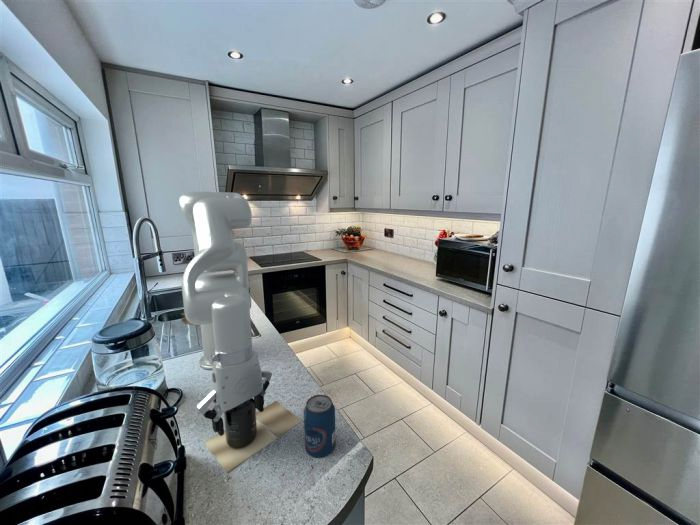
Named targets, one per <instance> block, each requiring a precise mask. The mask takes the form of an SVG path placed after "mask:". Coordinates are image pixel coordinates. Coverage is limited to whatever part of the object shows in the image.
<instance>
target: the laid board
mask: <svg viewBox="0 0 700 525" xmlns="http://www.w3.org/2000/svg"><path fill="white" fill-rule="evenodd" d="M256 419H257V420H258V421H259V422H260V423H261V424H262V425H263V426H265V427H266V428H267V429H268V430H269V431H270V432H271V433H272V434H274V435H275V436H276V437H277V438H280V437H282V436H283V435H284V434H286V433H288V432H289V431H290V430H291V429H293V428H294V427H296V426H297V425H299V424H300V423H301V422H303V420H302V419H301V418H299V417H298V416H296V415H295V414H294V413H293V412H291V411H290V410H288V409H287V408H286V407H285V406H284V405H282V404H281V403H280V402H279V401H278V400H275V401H273V402H271V403H270V404H268V405H267V406H264V411H263V412H260V411H259V410H257V411H256Z"/></svg>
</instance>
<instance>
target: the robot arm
mask: <svg viewBox="0 0 700 525" xmlns="http://www.w3.org/2000/svg"><path fill="white" fill-rule="evenodd" d="M178 200H179V201H178V202H179V203H178V204H179V208H180V210H181V213H182V214H183V217H184V219H185V220H186V222H187V224H188V225H189V227H190V230H191V234H192V241H193V242H192V243H193V251H194V256H193V258H192V259H191V260H190V261H189V263H188V264H187V266H186V268H185V269H184V272H183V276H182V278H181V294H182V302H183V304H182V305H183V312H185V316H186V319H187V320H188V322H189V323H191V324H193V325H192V326H195V325H200V326H199V327H200V331H201V333H200V334H201V342H202V343H201V344H202V352H203V353H202V354H203V356H202V357H201V358H200V359H199V366H200V368H202V369H205V370H212V371H211V392H209V393H208V394H207V395H206V397H205V398H203V400H201V401H200V402H199V403H198V404H197V405H196V406H195V407H196V410H197V411H198V412H199V414H200V415H202V416H204V417H205V419H208V420H211V422H212V423H211V426H212V430H213V432H214V433H215V434H216V433H217V434H219V435H220V436H222V435H224V430H225V425H224V420H223V417H222V415H224V411H228V410H230V409H232V408H234V407H236V406H238V405H240V404H242V403H244V402H245V401H247V400H249V399H251V398H253V399H254V401H255V405H256V409H257V410H256V411H260V412H263V411H264V408H265V406H264V405H265V395H266V393H267V389H268V388H269V386H270V385H271V384H270V381H271V379H272V377H273V373H272V372H271V371H270V370H262V369H261V364H260V360H259V356H258V354H257V352H256V351H254V350H253V340H252V339H253V337H252V323H251V322H252V321H251V308H252V295H251V293H250V292H249V289H250V286H249V284H250V283H249V270H248V269H249V267H248V254H247V250H246V247H245V246H244V245H243V243H241V242H235V241H234V237H233V233H232V230H233V229H248V228H249V227H251V224H252V220H253V214H252V210H251V207H250V204H249V202H248V201H247V199H246V198H245V197H244V196H243V195H241V194H240V193H238V192H225V191H223V192H220V191H189V192H184V193H183V194H181V195H180V196H179V198H178ZM226 271H233V272H226ZM216 272H217V273H216ZM218 272H224V273H218ZM225 272H226V273H225ZM203 273H214V274H207V275H203V276H201V275H202V274H203ZM215 273H216V274H215ZM199 276H200V277H199ZM212 403H214V404H213V405H212V407H211V409H209V408H208V407H209V406H210V405H211V404H212Z"/></svg>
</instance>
